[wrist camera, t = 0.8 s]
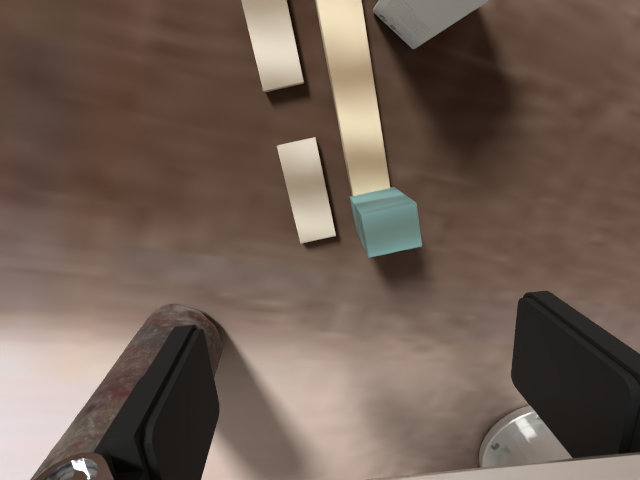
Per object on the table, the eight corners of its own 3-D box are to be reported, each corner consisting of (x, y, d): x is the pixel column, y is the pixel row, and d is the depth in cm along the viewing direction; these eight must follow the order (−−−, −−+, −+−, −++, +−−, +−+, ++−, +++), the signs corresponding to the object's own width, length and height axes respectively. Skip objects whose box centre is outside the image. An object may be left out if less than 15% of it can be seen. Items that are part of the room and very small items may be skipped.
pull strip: (485, 199, 31) (536, 221, 24) (354, 228, 31) (368, 257, 24) (461, -121, 24) (524, -217, 17) (295, -81, 24) (292, -161, 18)
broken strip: (334, 231, 31) (335, 235, 30) (300, 238, 32) (300, 243, 30) (270, -74, 25) (269, -83, 24) (227, -64, 25) (223, -73, 24)
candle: (238, 317, 34) (153, 572, 15) (214, 380, 36) (112, 677, 17) (155, 290, 32) (-55, 530, 13) (135, 357, 34) (-73, 648, 15)
